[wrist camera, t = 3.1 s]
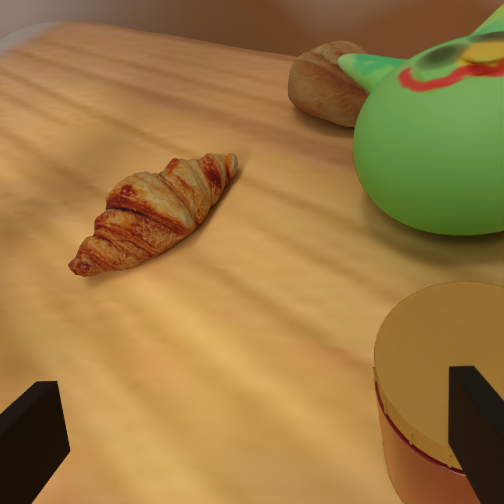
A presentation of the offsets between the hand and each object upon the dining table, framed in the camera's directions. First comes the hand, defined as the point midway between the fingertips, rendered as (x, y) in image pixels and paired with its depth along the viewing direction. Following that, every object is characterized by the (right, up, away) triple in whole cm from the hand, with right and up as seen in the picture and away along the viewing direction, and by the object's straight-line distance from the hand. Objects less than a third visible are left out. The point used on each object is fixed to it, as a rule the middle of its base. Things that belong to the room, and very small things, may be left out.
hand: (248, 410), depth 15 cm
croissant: (-9, +8, +34) cm, 36 cm away
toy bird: (+19, +10, +25) cm, 33 cm away
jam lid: (+9, +1, +3) cm, 10 cm away
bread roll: (+11, +22, +40) cm, 46 cm away
